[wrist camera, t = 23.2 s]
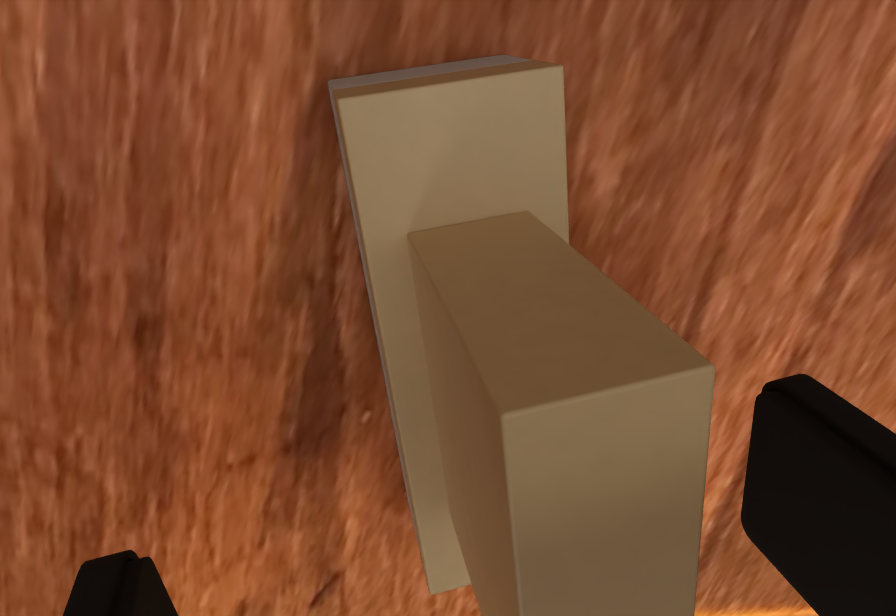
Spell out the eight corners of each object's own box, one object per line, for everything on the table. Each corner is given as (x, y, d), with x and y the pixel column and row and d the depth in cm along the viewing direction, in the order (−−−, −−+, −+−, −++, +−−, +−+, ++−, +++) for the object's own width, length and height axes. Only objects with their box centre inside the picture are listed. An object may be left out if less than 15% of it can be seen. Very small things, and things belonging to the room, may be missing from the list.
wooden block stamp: (407, 500, 19) (500, 894, 10) (326, 79, 13) (380, 186, 5) (534, 468, 19) (719, 817, 11) (504, 53, 14) (818, 109, 6)
